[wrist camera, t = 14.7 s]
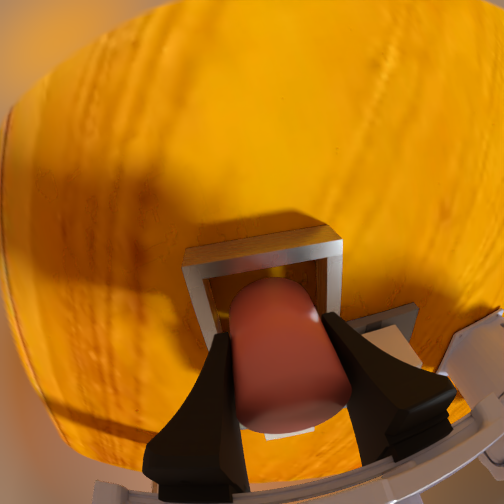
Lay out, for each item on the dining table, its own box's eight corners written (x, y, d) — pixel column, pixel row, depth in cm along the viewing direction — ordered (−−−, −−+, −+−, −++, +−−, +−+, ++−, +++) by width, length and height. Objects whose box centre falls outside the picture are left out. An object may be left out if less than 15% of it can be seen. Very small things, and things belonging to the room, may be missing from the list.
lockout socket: (328, 224, 14) (342, 239, 13) (327, 329, 18) (336, 349, 16) (186, 248, 14) (181, 267, 12) (216, 350, 17) (216, 373, 16)
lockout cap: (310, 269, 13) (359, 358, 8) (311, 334, 15) (344, 419, 10) (221, 285, 13) (224, 386, 8) (236, 348, 15) (246, 440, 10)
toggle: (394, 324, 17) (422, 363, 13) (384, 363, 19) (405, 400, 15) (355, 336, 17) (379, 380, 13) (348, 375, 19) (366, 415, 15)
